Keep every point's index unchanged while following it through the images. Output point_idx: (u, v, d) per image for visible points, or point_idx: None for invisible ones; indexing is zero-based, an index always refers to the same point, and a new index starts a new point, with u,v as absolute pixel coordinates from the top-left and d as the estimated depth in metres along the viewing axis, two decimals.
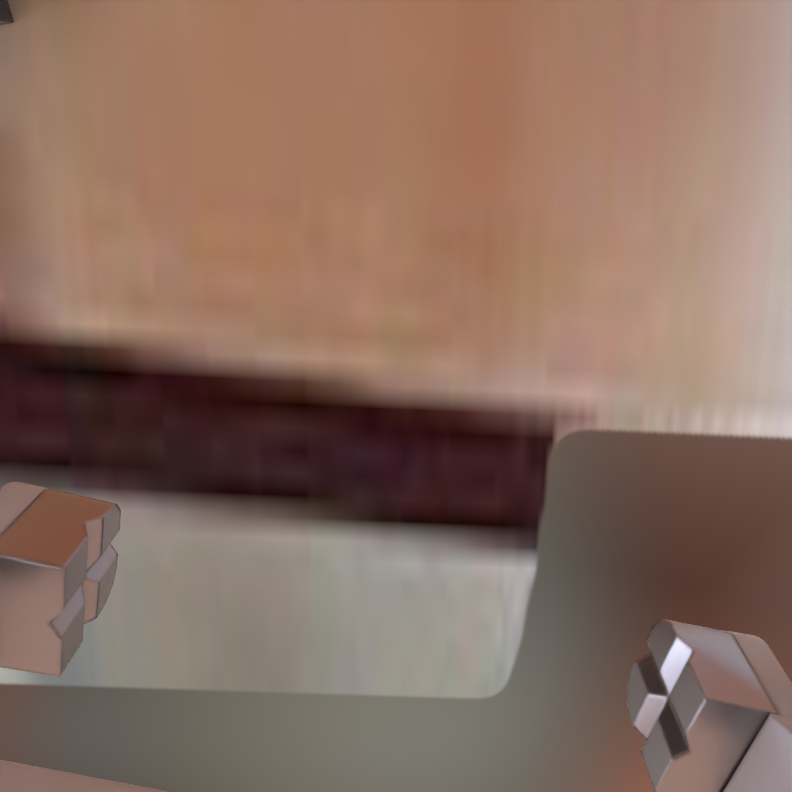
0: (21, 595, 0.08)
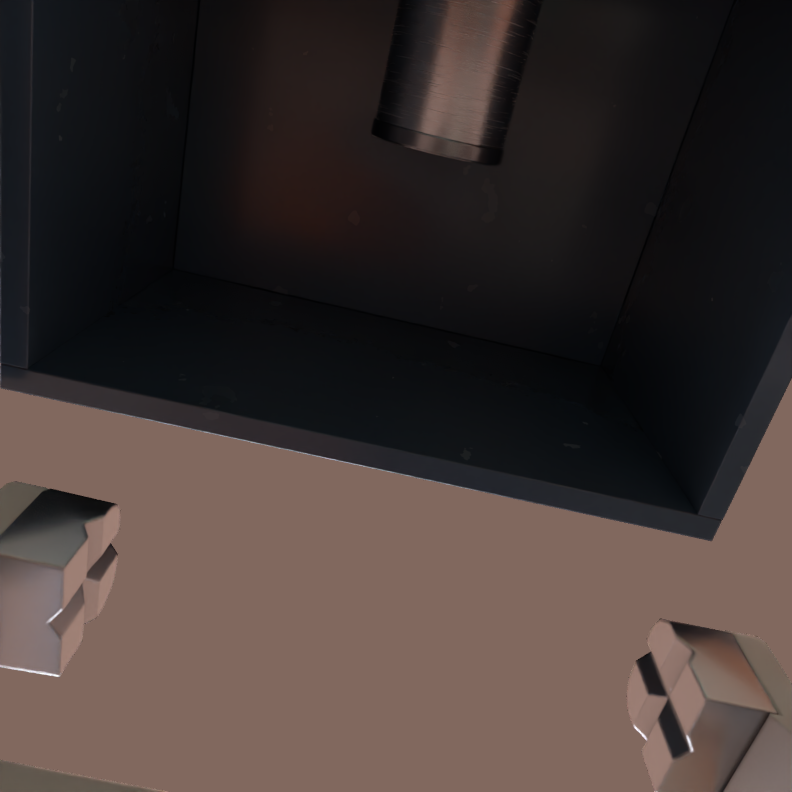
0: (21, 595, 0.08)
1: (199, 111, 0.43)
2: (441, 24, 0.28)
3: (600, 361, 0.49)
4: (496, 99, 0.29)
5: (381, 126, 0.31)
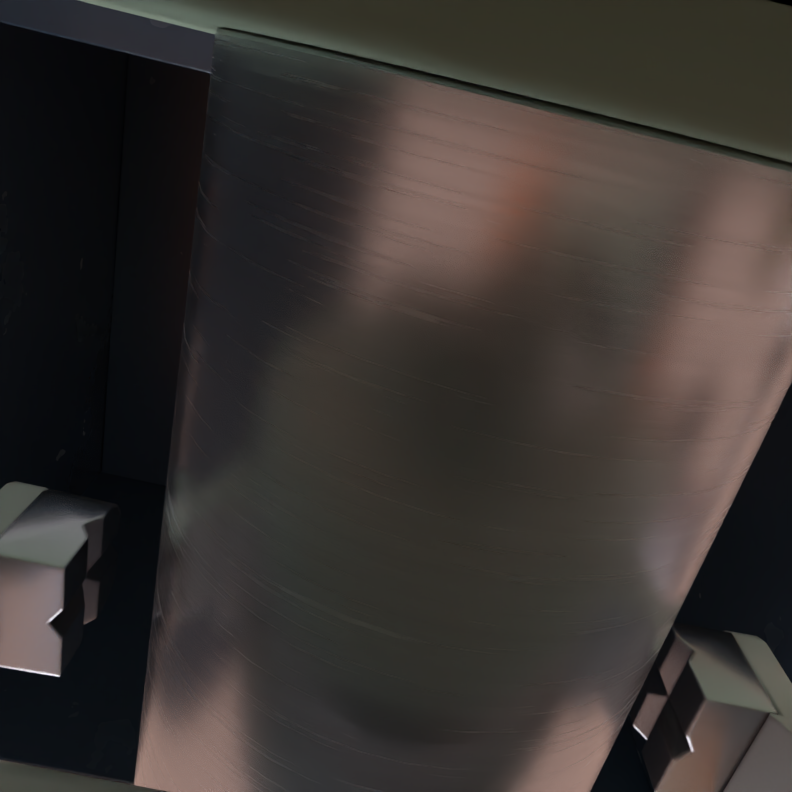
0: (21, 595, 0.08)
1: (123, 315, 0.38)
2: None
3: None
4: None
5: None
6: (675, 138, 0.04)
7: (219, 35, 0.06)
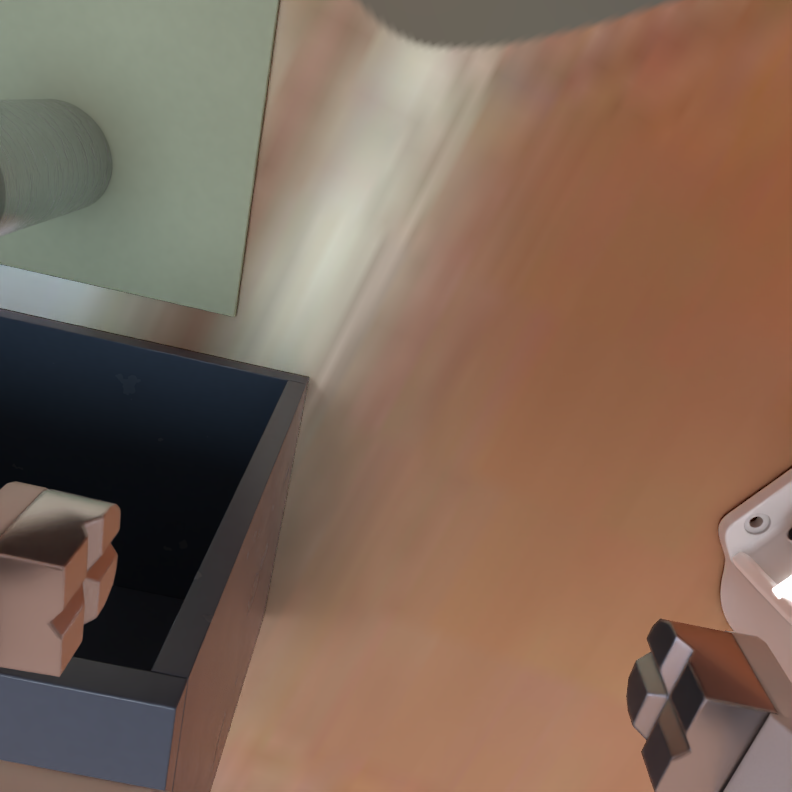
0: (21, 595, 0.08)
1: None
2: None
3: None
4: (3, 130, 0.30)
5: None
6: None
7: None
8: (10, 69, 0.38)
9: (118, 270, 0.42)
